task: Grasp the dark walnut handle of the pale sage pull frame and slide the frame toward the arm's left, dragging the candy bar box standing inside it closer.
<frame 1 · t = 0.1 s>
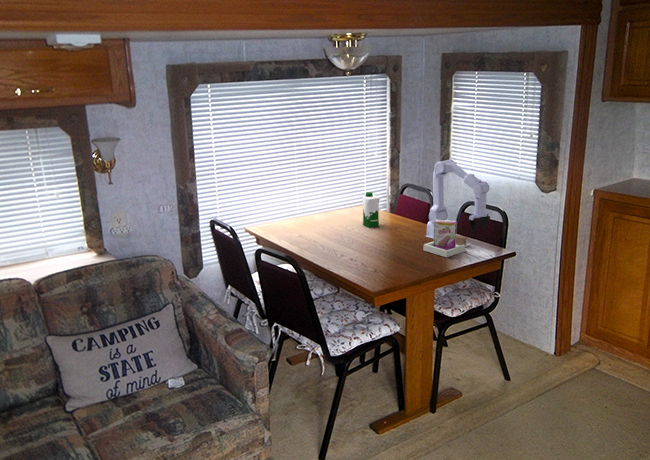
hand: (478, 230, 313), 10 cm above the table, fingers open, 7 cm apart
milk carton: (371, 226, 361), on the table
pull frame: (450, 244, 315), point 3 cm above the table, slide at 0.0 cm
candy bar box: (444, 251, 313), resting in pull frame
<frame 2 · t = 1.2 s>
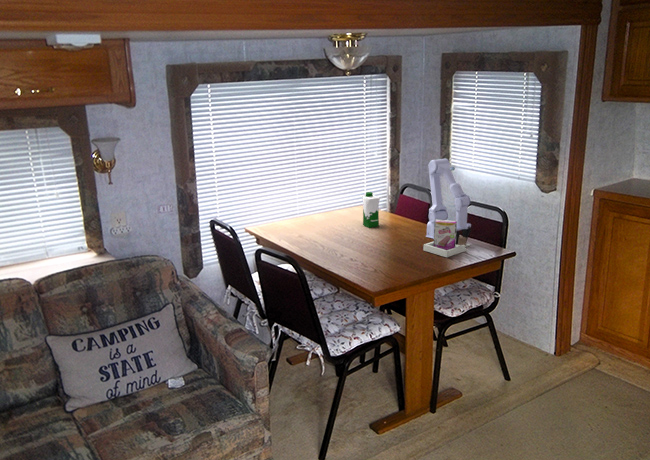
hand: (460, 242, 321), 2 cm above the table, fingers open, 7 cm apart
nothing on the table moved.
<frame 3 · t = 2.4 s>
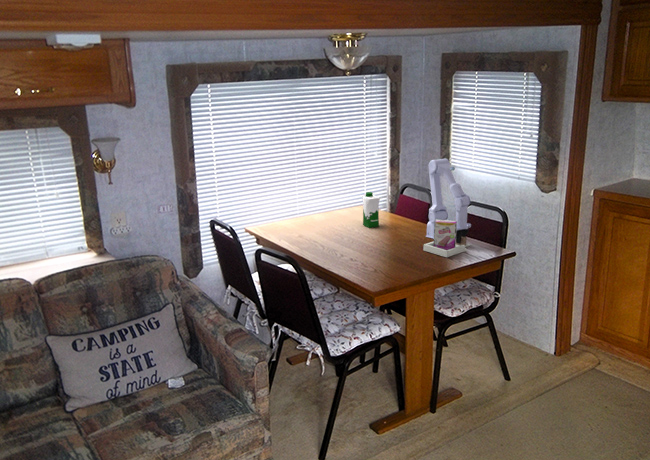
hand: (460, 242, 321), 2 cm above the table, fingers closed on pull frame, 2 cm apart
pull frame: (450, 244, 315), point 3 cm above the table, slide at 0.0 cm, touching gripper
everything else where it was.
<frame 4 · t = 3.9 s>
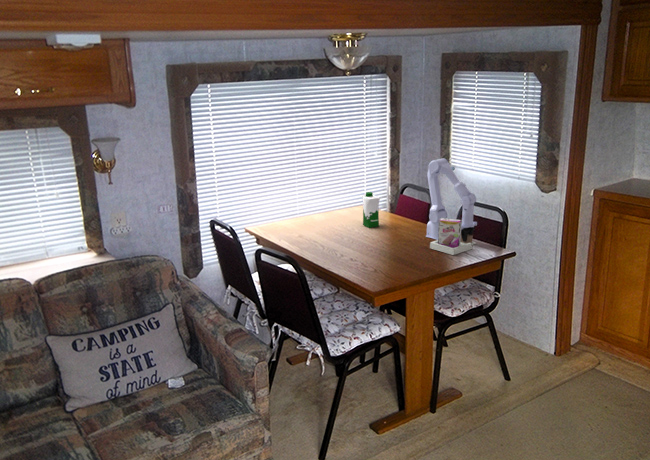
hand: (466, 240, 324), 2 cm above the table, fingers open, 3 cm apart
pull frame: (456, 242, 319), point 3 cm above the table, slide at 5.2 cm, touching candy bar box, gripper
candy bar box: (448, 250, 315), resting in pull frame
everything else where it was.
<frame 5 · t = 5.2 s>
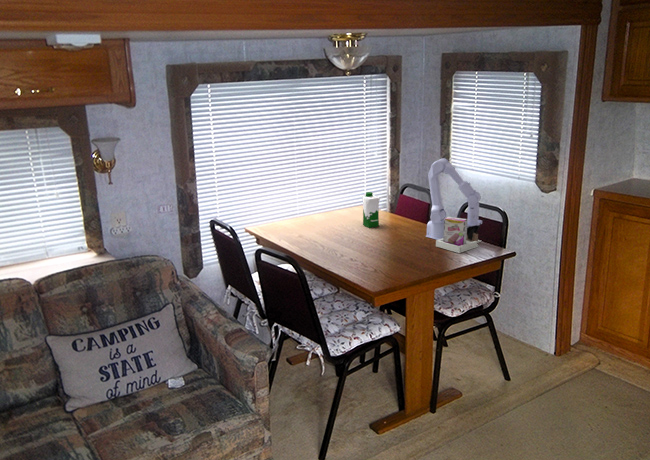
hand: (471, 238, 327), 2 cm above the table, fingers closed on pull frame, 2 cm apart
pull frame: (462, 240, 321), point 3 cm above the table, slide at 10.0 cm, touching gripper
candy bar box: (454, 248, 317), resting in pull frame
everything else where it was.
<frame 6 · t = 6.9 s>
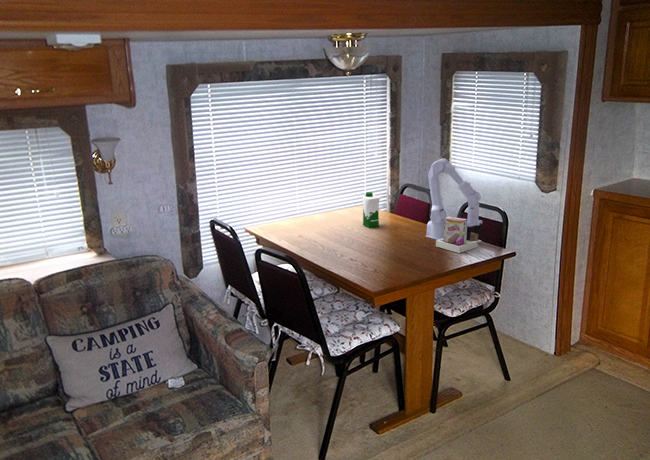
hand: (471, 238, 327), 2 cm above the table, fingers open, 7 cm apart
pull frame: (462, 240, 321), point 3 cm above the table, slide at 10.0 cm
everything else where it was.
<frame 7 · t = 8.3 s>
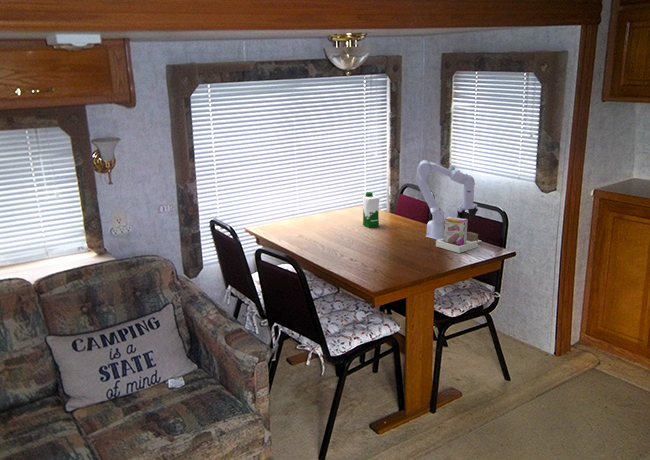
hand: (466, 222, 331), 9 cm above the table, fingers open, 7 cm apart
nothing on the table moved.
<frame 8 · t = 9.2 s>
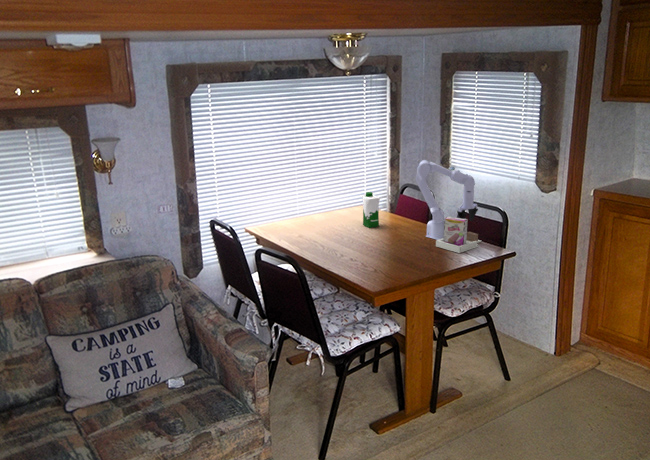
hand: (466, 222, 331), 9 cm above the table, fingers open, 7 cm apart
nothing on the table moved.
at the end: pull frame slide at 10.0 cm; candy bar box moved 7.4 cm from its start; candy bar box tilted 0° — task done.
